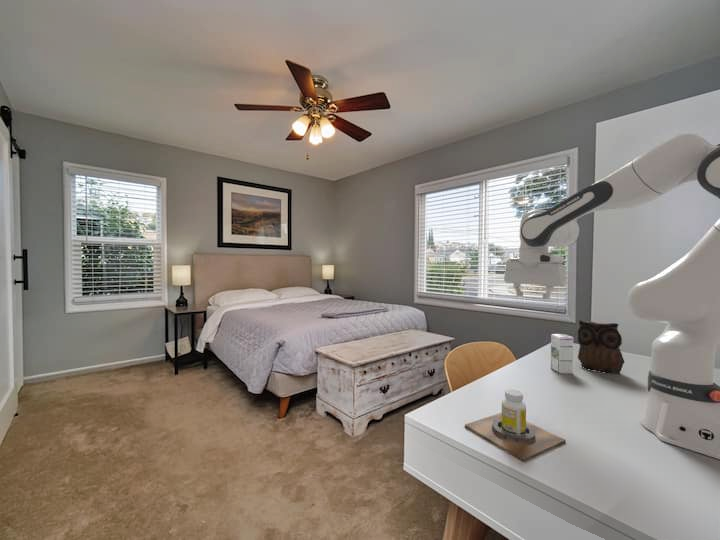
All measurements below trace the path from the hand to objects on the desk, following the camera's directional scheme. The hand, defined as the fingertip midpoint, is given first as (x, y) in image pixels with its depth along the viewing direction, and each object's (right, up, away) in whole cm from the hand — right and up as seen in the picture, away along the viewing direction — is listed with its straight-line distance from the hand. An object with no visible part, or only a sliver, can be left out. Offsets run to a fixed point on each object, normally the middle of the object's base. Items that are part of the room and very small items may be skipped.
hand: (532, 297), depth 107 cm
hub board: (-22, -31, -31) cm, 49 cm away
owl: (+40, -32, +20) cm, 55 cm away
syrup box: (+21, -31, +17) cm, 42 cm away
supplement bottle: (-22, -31, -31) cm, 49 cm away
